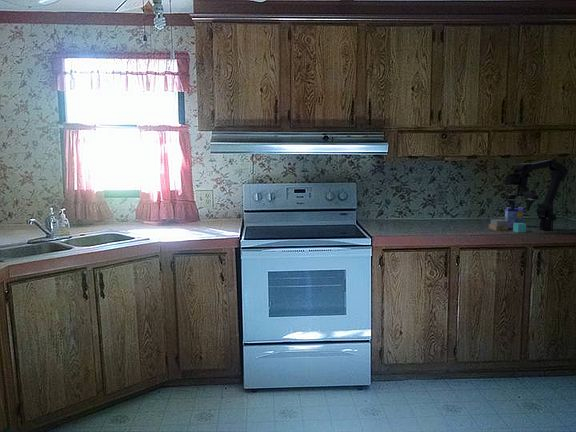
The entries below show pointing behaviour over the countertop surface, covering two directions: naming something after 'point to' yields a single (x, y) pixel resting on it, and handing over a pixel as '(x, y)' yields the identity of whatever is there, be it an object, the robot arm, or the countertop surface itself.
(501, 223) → the tower top
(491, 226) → the tower base
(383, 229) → the countertop surface
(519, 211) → the ink cartridge box
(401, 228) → the countertop surface
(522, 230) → the teal cube
